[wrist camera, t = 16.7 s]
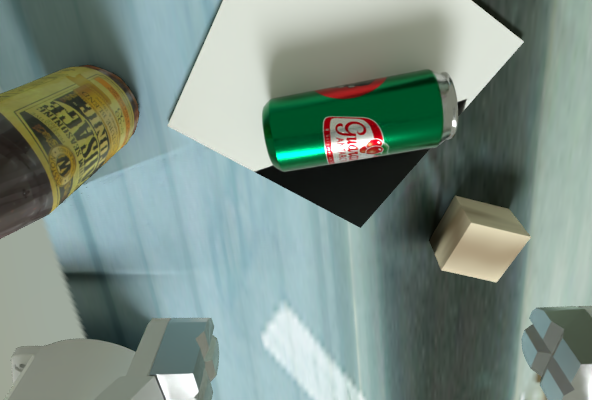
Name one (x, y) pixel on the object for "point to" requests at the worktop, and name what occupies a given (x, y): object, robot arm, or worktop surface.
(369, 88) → the soda can
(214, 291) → the worktop surface
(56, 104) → the sauce bottle
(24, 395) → the robot arm
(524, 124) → the worktop surface
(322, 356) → the worktop surface
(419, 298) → the worktop surface
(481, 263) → the birch block
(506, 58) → the mat
